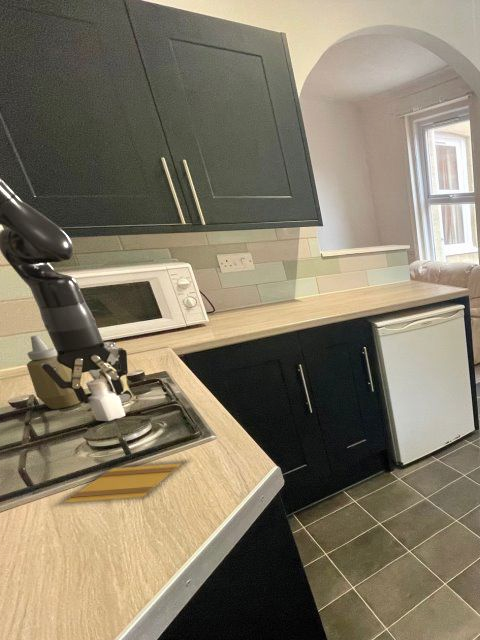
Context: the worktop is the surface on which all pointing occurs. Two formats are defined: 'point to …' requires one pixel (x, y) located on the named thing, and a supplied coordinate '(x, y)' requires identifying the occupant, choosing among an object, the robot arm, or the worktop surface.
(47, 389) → the squeeze bottle
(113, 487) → the towel
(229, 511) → the worktop surface
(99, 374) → the beer glass
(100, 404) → the pepper shaker
